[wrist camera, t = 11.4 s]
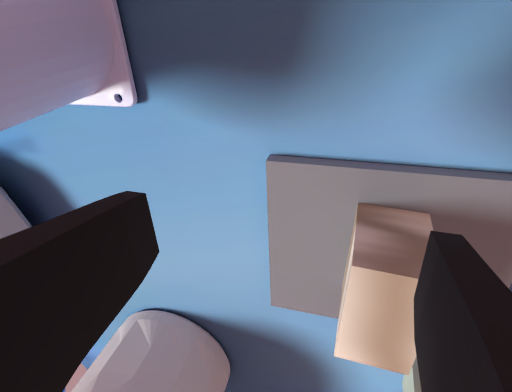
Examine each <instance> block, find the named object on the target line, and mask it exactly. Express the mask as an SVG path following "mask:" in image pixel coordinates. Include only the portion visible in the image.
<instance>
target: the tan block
mask: <svg viewBox="0 0 512 392" xmlns="http://www.w3.org/2000/svg"><path fill="white" fill-rule="evenodd" d="M430 231H433V226H432V222H431V217H430V214H428V213H422V212H415V211H409V210H402V209H396V208H389V207H383V206H376V205H370V204H364V203H358V205H357V210H356V216H355V221H354V226H353V232H352V237H351V242H350V248H349V253H348V258H347V264H346V269H345V274H344V280H343V285H342V293H341V301H340V310H339V318H338V326H337V335H336V343H335V351H334V356H336V357H339V358H343V359H347V360H351V361H355V362H359V363H363V364H366V365H370V366H374V367H378V368H382V369H386V370H390V371H393V372H397V373H401V374H405V375H409V373H410V371H411V368H412V366H413V363H414V361H415V358H416V348H415V341H414V295H415V291H416V287H417V283H418V279H419V275H420V271H421V267H422V263H423V259H424V255H425V251H426V247H427V243H428V239H429V235H430Z"/></svg>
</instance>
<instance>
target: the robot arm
mask: <svg viewBox="0 0 512 392" xmlns="http://www.w3.org/2000/svg"><path fill="white" fill-rule="evenodd" d="M118 94H120V95H121V96H122V100H121V99H120V98H119V96H118ZM136 103H137V93H136V89H135V84H134V80H133V75H132V70H131V66H130V61H129V57H128V52H127V47H126V43H125V38H124V34H123V29H122V24H121V20H120V15H119V11H118V6H117V1H116V0H0V131H2V130H5V129H7V128H10V127H12V126H15V125H17V124H20V123H22V122H25V121H27V120H30V119H32V118H35V117H37V116H40V115H42V114H45V113H47V112H50V111H52V110H55V109H57V108H60V107H62V106H65V105H67V104H74V105H95V106H117V107H131V106H133V105H135V104H136ZM158 253H159V248H158V244H157V240H156V235H155V231H154V227H153V223H152V218H151V214H150V210H149V206H148V201H147V197H146V193H138V192H131V191H125V192H122V193H118V194H115V195H112V196H109V197H106V198H104V199H101V200H98V201H96V202H93V203H91V204H88V205H86V206H83V207H81V208H78V209H76V210H73V211H71V212H68V213H66V214H63V215H61V216H58V217H56V218H53V219H51V220H48V221H46V222H43V223H41V224H38V225H35V226H33V227H30V228H27V229H25V230H22V231H19V232H17V233H14V234H12V235H9V236H6V237H4V238H1V239H0V392H62V391H63V390H64V388H65V387H66V385H67V383H68V382H69V380H70V379H71V377H72V375H73V374H74V372H75V371H76V369H77V367H78V366H79V365H80V363H81V362H82V361H83V359H84V358H85V356H86V355H87V354H88V352H89V351H90V349H91V348H92V347H93V346H94V344H95V343H96V342H97V340H98V339H99V338H100V336H101V335H102V334H103V333H104V331H105V330H106V329H107V327H108V326H109V325H110V324H111V322H112V321H113V320H114V318H115V317H116V316H117V315H118V313H119V312H120V311H121V309H122V308H123V307H124V306H125V304H126V303H127V302H128V300H129V299H130V298H131V296H132V295H133V294H134V292H135V291H136V290H137V288H138V287H139V286H140V284H141V283H142V282H143V280H144V278H145V276H146V275H147V273H148V271H149V270H150V268H151V266H152V264H153V263H154V261H155V259H156V257H157V255H158ZM414 341H415V348H416V356H417V363H418V370H419V378H420V385H421V392H512V292H511V291H510V290H509V288H508V287H507V286H506V285H505V284H504V283H503V282H502V281H501V279H500V278H499V277H498V276H497V275H496V274H495V273H494V271H493V270H492V269H491V268H490V267H489V266H488V265H487V263H486V262H485V261H484V260H483V259H482V257H481V256H480V255H479V254H478V253H477V252H476V250H475V249H474V248H473V247H472V246H471V245H470V243H469V242H468V241H467V240H466V239H465V238H464V237H463V235H460V234H453V233H445V232H437V231H430V235H429V239H428V243H427V247H426V251H425V255H424V259H423V263H422V267H421V271H420V275H419V279H418V283H417V287H416V291H415V295H414Z"/></svg>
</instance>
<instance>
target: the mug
mask: <svg viewBox="0 0 512 392" xmlns="http://www.w3.org/2000/svg"><path fill="white" fill-rule="evenodd" d="M229 376H230V364H229V361H228V358H227V356H226V354H225V352H224V350H223V349H222V347H221V346H220V344H219V343H218V342H217V341H216V340H215V338H214V337H213V336H211V335H210V334H209V333H208V332H207V331H206V330H204V329H203V328H202V327H200V326H199V325H197V324H196V323H194V322H192V321H190V320H188V319H186V318H184V317H182V316H179V315H176V314H173V313H170V312H165V311H158V310H149V311H141V312H137V313H134V314H132V315H131V316H129V317H128V318H127V319H126V320H125V321H124V323H123V324H122V325H121V326H120V327H119V329H118V330H117V331H116V333H115V334H114V335H113V337H112V338H111V339H110V341H109V342H108V343H107V345H106V346H105V347H104V349H103V350H102V351H101V353H100V354H99V355H98V357H97V358H96V359H95V361H94V362H93V363H92V365H91V366H90V367H89V369H88V370H87V372H86V373H85V374H84V376H83V377H82V378H81V380H80V381H79V382H78V384H77V385H76V386H75V388H74V389H73V390H72V392H224V391H225V389H226V386H227V383H228V379H229Z"/></svg>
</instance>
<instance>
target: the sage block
mask: <svg viewBox="0 0 512 392" xmlns="http://www.w3.org/2000/svg"><path fill="white" fill-rule="evenodd" d="M402 383H403V392H421V385H420V378H419V370H418V363H417V356H416V358H415V361H414V363H413V366H412V368H411V371H410V373H409V375H405V374H404V378H403V381H402Z"/></svg>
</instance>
